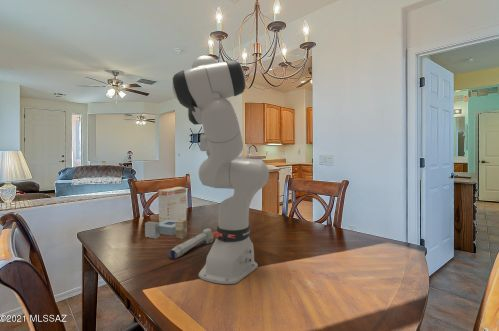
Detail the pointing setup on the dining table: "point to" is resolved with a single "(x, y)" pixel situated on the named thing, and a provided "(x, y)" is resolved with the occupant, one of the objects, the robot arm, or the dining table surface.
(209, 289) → the dining table surface
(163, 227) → the bore block
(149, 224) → the pale grey block
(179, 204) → the coffeecake box
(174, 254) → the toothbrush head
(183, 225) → the block
